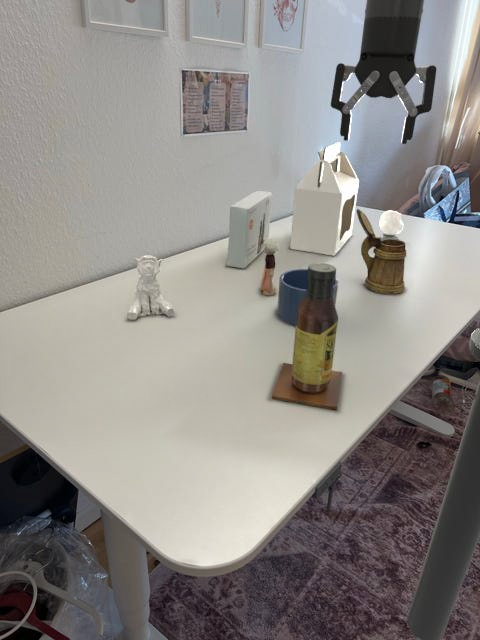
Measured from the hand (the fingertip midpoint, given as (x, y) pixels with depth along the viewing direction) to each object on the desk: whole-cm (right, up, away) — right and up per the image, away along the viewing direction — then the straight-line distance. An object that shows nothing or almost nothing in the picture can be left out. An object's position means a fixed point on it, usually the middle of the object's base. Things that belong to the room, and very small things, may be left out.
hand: (374, 141), depth 73 cm
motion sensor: (+28, 0, +81) cm, 86 cm away
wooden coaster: (-10, -38, +5) cm, 39 cm away
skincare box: (-18, -10, +60) cm, 63 cm away
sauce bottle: (-9, -38, +4) cm, 39 cm away
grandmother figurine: (-14, -21, +38) cm, 46 cm away
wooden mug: (+12, -19, +43) cm, 49 cm away
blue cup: (-7, -26, +28) cm, 39 cm away
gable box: (+4, -4, +72) cm, 73 cm away
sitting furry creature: (-40, -25, +28) cm, 55 cm away
